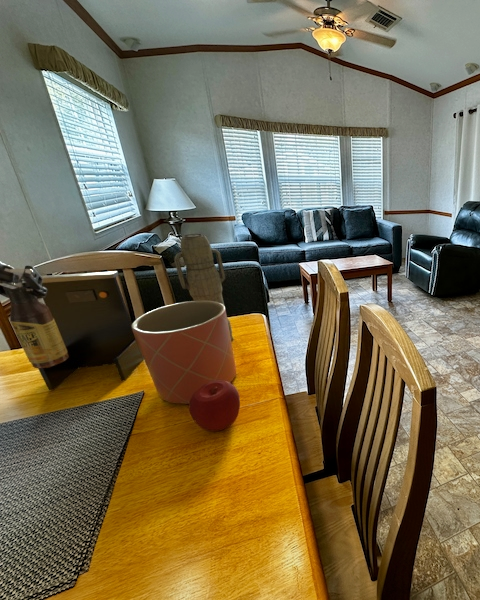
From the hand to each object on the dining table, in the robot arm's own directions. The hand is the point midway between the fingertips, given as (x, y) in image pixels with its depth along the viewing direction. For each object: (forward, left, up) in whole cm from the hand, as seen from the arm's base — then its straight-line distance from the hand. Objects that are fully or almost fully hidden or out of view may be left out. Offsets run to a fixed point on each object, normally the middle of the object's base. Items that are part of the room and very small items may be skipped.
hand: (31, 295), depth 72 cm
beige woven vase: (+35, -3, -27) cm, 44 cm away
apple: (+15, -40, -27) cm, 50 cm away
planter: (+20, -21, -27) cm, 40 cm away
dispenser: (+7, +8, -27) cm, 29 cm away
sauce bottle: (-1, -1, -16) cm, 16 cm away
